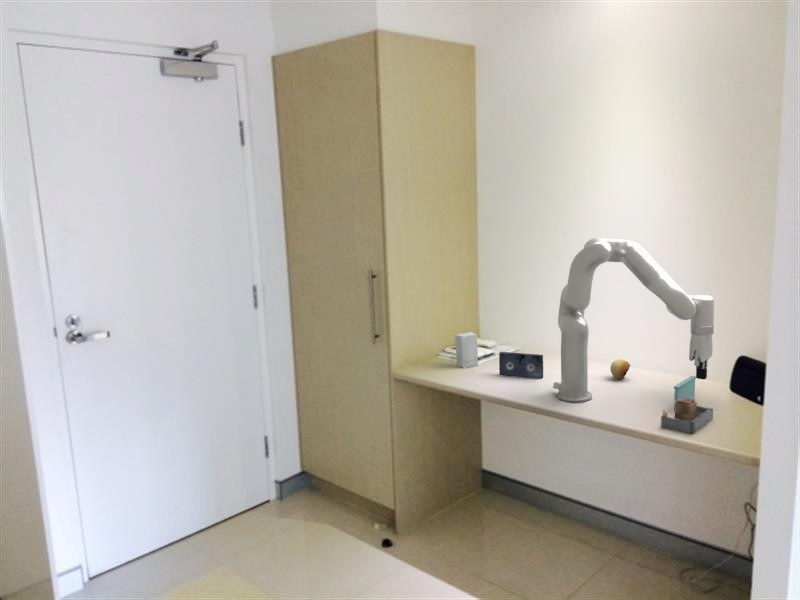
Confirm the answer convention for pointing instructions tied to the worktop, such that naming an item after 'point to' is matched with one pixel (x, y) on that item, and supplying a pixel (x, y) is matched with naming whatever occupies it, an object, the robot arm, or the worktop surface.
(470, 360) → the skincare box
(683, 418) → the block
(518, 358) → the vhs cassette tape
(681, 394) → the flat teal rectangular block
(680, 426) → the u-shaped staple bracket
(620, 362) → the fruit
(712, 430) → the worktop surface
